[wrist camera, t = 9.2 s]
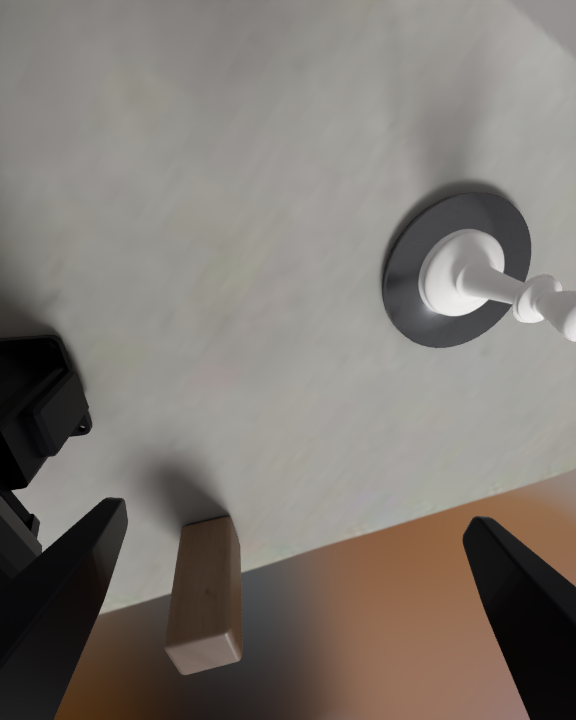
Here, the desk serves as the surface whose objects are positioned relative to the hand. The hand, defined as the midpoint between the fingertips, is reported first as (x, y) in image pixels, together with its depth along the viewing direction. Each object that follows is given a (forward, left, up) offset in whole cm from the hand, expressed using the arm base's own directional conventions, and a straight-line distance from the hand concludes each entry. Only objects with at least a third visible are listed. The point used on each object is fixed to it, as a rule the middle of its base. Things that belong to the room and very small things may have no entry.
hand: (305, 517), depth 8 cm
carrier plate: (+12, +3, -13) cm, 18 cm away
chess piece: (+12, +3, -12) cm, 17 cm away
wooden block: (-5, -17, -13) cm, 22 cm away
